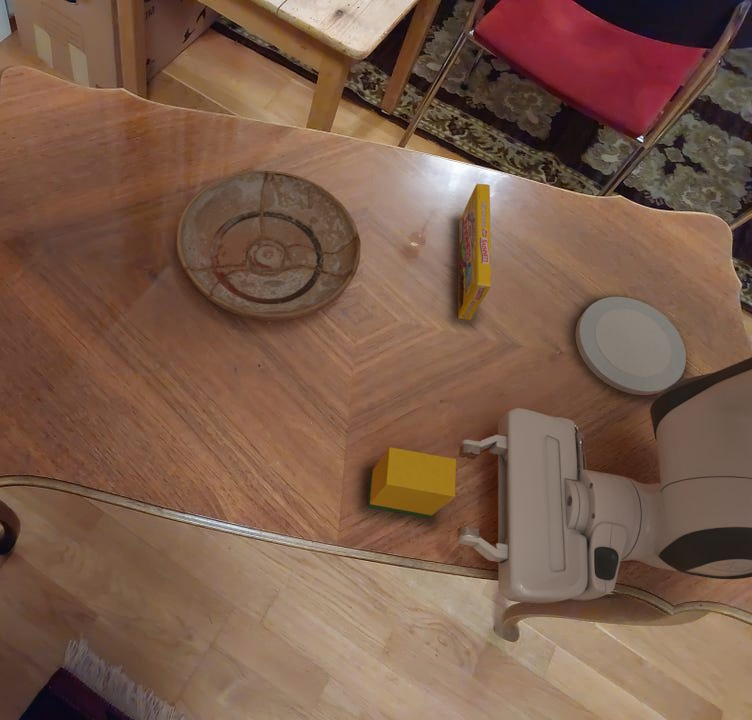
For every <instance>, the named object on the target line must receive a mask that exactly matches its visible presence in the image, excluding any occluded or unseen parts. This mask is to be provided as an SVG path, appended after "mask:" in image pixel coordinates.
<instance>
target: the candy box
mask: <svg viewBox="0 0 752 720" xmlns="http://www.w3.org/2000/svg"><path fill="white" fill-rule="evenodd" d="M491 238H492V237H491V187H490V184H486V183H476V184H475V186H474V189H473V190H472V192H471V195H470V197H469V198H468V201H467V203H466V205H465V207H464V210H463V212H462V215H461V217H460V219H459V221H458V274H457V275H458V280H457V281H458V283H457V284H458V286H457V287H458V289H457V290H458V291H457V293H458V296H457V297H458V298H457V301H458V303H457V307H458V309H457V319H460V320H464V321H471V320H472V318H473V316H474V315H475V313H476V311H478V308H479V307H480V305H481V303H482V302H483V300H484V299H485V297H486V295H487V293H488V292H489V291H490V289H491V287H492V244H491V243H492V241H491Z"/></svg>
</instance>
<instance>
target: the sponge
mask: <svg viewBox="0 0 752 720" xmlns="http://www.w3.org/2000/svg"><path fill="white" fill-rule="evenodd" d="M456 479H457V459H456V458H453V457H446V456H441V455H435V454H429V453H424V452H420V451H419V452H418V451H413V450H409V449H404V448H397V447H392V446H389V447H388V449H387V450H386V451H385V453H384V454H383V455H382V457H381V458H380V459H379V461H378V462H377V464H376V465H375V467H374V468H373V469H372V470H371V471H370V472H369V482H368V492H367V501H366V502H367V503H366V507H367V508H371V509H376V510H381V511H387V512H392V513H398V514H402V515H403V514H404V515H408V516H409V515H410V516H414V517H419V518H420V517H421V518H425V519H430V518H432V516H433V515H434V514H435V513H437V512H438V511H439V510H440V509H441V508H443V507H444V506H446V505H447V504H448V503H449V502H450V501H451V500H453V499H454V498H455V497H456V483H457V482H456Z"/></svg>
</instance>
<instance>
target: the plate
mask: <svg viewBox="0 0 752 720" xmlns="http://www.w3.org/2000/svg"><path fill="white" fill-rule="evenodd" d="M575 326H576V327H575V335H574V337H575V343H576V347H577V350H578V353H579V355H580V357H581V359H582V361H583V362H584V364H585V365H586V366H587V368H588V369H589V370H590V371H591V372H592V373H593V375H595V376H596V377H597V378H598V379H599V380H600V381H602V382H603V383H605V384H607V385H608V386H610V387H612V388H613V389H616V390H618V391H621V392H623V393H626V394H630V395H637V396H650V395H656V394H659V393H662V392H663V391H664V390H666V389H667V388H668V387H669V386H671V385H672V384H674V383H676V382H678V381H679V379H680V378H681V377H682V376H683V373H684V372H685V368H686V365H687V364H686V363H687V352H686V347H685V344H684V341H683V338H682V337H681V334H680V333H679V331H678V329H677V328H676V327H675V325H674V324H673V323H672V321H670V320H669V318H668V317H667V316H666V315H664V314H663V313H662V312H661V311H659V310H658V309H657V308H655V307H654V306H651V305H650V304H648V303H645V302H644V301H641V300H638V299H636V298H631V297H627V296H609V297H605V298H601V299H599V300H597V301H595V302H593V303H592V304H590V305H589V306H588V307H587V308H586V309H584V311H583V312H582V314H581V315H580V316H579V318H578V320H577V322H576V325H575Z"/></svg>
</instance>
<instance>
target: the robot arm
mask: <svg viewBox="0 0 752 720" xmlns="http://www.w3.org/2000/svg"><path fill="white" fill-rule="evenodd" d="M649 414H650V419H651V424H652V430H653V434H654V439H655V441H656V447H657V449H656V450H657V460H658V469H659V480H660V481H659V482H655V483H643V482H639V481H637V480H635V479H633V478H630V477H627V476H624V475H619V474H613V473H606V472H601V471H596V470H590V469H588V463H587V456H586V452H585V450H586V449H585V445H586V438H585V435H584V433H583V432H581V430H580V429H579V426H578V425H577V424H576V423H575V421H573V420H572V419H570V418H567V417H566V418H564V417H560V416H552V415H548V414H545V413H541V412H538V411H536V410H535V411H534V410H531V409H527V408H522V407H515V408H512V409H511V410H509V411H507V412H506V413H504V415H502V417H500V419H499V420H498V422H497V434H494V435H492V436H489V437H486V438H483V439H481V440H479V441H478V440H471V439H462V440H461V441H460V442H459V446H458V448H459V450H458V451H459V452H458V453H459V455H458V456H459V457H460V458H463V459H465V458H467V459H469V460H476V459H477V457H479V456H480V454H481V451H484V450H486V449H488V452H489V454H493V455H497V535H498V536H497V537H498V538H497V539H498V541H497V542H496V543H495V544H493V545H492V544H491V543H489V542H488V541H486V540H485V539H484V538H482V537H481V536H480V528H477V527H470V526H468V525H467V526H465V525H461V526H459V527H457V532H456V535H457V536H456V543H457V544H458V545H463V546H469V547H472V548H473V549H474V550H475V551H477V552H478V553H479V554H480V555H481V556H483V558H485V559H486V560H487V561H490V562H496V563H497V565H498V567H497V568H498V570H497V571H498V573H497V574H498V580H497V581H498V583H497V584H498V592H499V593H500V594H501V595H502V597H504V598H505V599H506V600H508V601H511V602H515V603H524V604H542V605H543V604H553V603H558V602H563V601H566V600H573V601H590V600H595V599H598V598H601V597H604V596H606V595H608V594H610V593H612V592H613V591H614V589H615V587H616V583H617V578H618V574H619V570H620V566H621V562H628V561H636V562H637V561H638V562H641V563H643V564H644V565H647V566H649V567H650V568H651V567H652V568H656V569H661V570H666V571H671V572H672V571H673V572H679V573H681V574H685V575H689V576H695V577H701V578H708V579H715V580H741V579H748V578H749V579H750V578H752V356H751V357H748V358H746V359H743V360H741V361H739V362H737V363H734V364H732V365H729V366H727V367H724V368H722V369H720V370H717V371H713V372H709V373H705V374H700V375H695V376H692V377H687V378H684V379H681V380H678V381H676V382H675V383H674V384H672V385H671V386H669V387H668V388H667V389H665V390H664V391H661V392H660V394H659V395H658V396H657V397H656V398H655V400H654V401H653V402H652V404H651V405H650V408H649Z"/></svg>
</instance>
